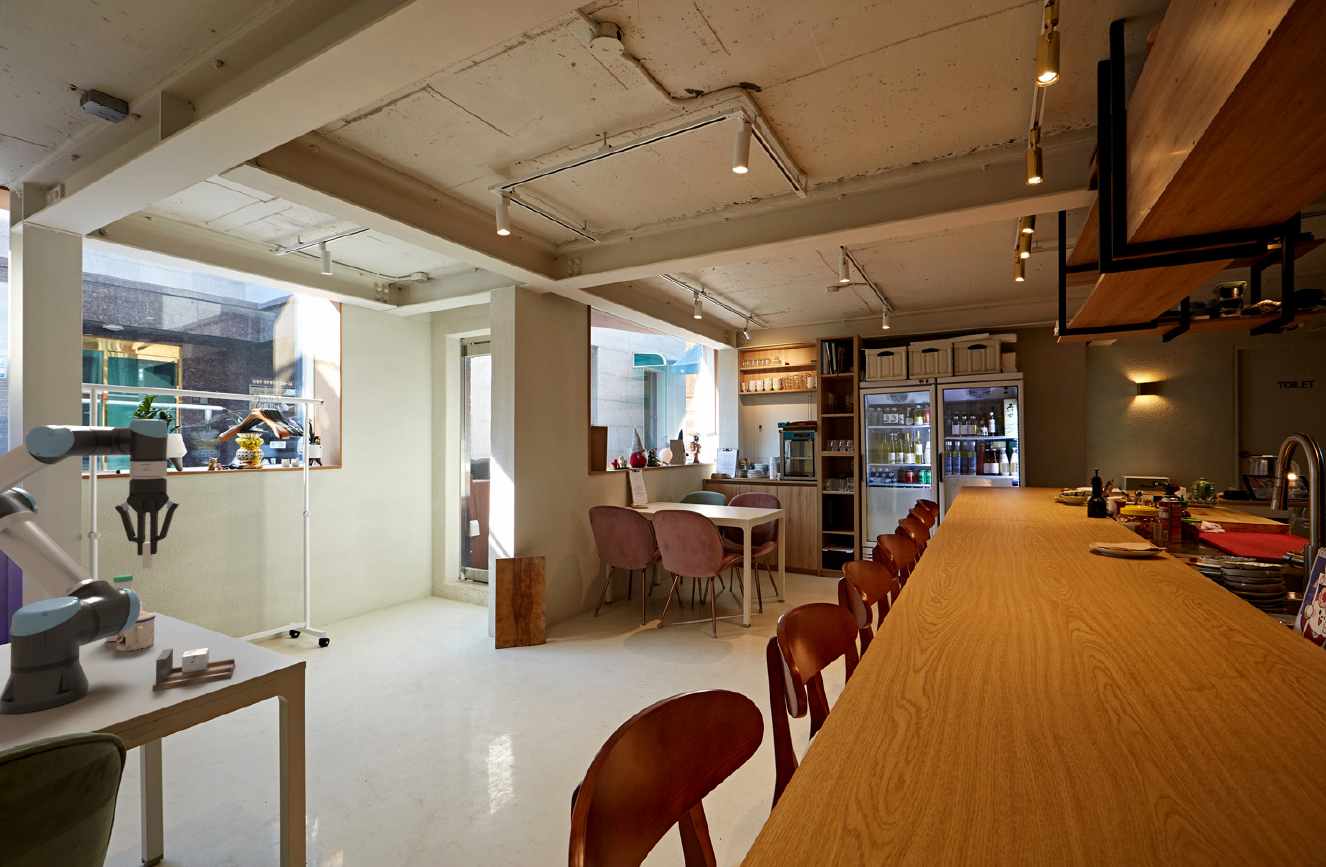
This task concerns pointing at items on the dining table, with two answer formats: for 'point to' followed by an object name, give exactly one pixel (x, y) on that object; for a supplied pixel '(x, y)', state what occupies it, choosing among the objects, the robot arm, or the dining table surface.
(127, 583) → the milk bottle
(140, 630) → the teacup with lid
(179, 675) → the gauge board
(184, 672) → the white box
